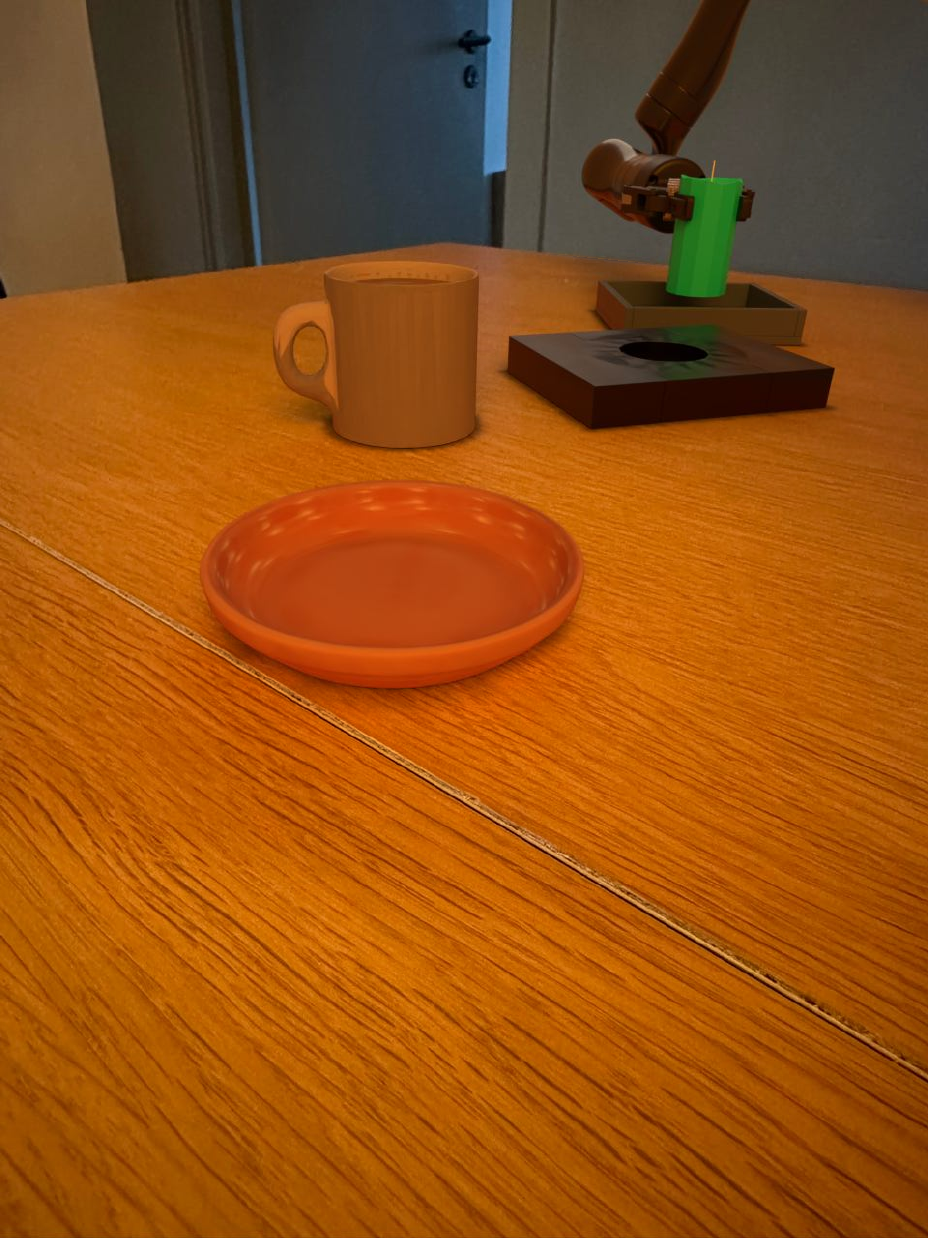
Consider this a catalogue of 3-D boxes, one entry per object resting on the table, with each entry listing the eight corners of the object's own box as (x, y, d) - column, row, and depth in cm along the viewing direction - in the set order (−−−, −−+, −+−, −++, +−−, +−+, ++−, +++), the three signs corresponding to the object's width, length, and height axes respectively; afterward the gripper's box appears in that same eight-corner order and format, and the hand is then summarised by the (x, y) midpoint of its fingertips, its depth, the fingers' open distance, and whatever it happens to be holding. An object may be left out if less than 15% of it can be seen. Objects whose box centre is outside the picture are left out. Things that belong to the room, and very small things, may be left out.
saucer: (616, 711, 32) (626, 641, 30) (172, 725, 31) (158, 653, 29) (546, 530, 46) (550, 476, 44) (237, 534, 44) (231, 479, 43)
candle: (660, 293, 88) (678, 160, 82) (670, 283, 93) (688, 157, 87) (720, 299, 86) (743, 163, 80) (728, 289, 91) (750, 160, 85)
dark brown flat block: (709, 357, 79) (715, 324, 78) (826, 407, 66) (835, 367, 65) (507, 371, 74) (508, 335, 72) (590, 429, 60) (595, 386, 59)
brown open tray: (749, 313, 98) (754, 282, 96) (800, 345, 85) (808, 309, 83) (595, 311, 97) (598, 280, 96) (622, 342, 84) (626, 307, 82)
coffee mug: (469, 403, 65) (472, 261, 60) (481, 447, 57) (485, 285, 52) (289, 403, 64) (277, 259, 59) (273, 448, 56) (258, 284, 51)
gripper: (603, 153, 95) (651, 163, 80) (728, 155, 96) (797, 166, 82) (596, 228, 99) (640, 251, 84) (717, 229, 100) (780, 251, 86)
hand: (717, 209), depth 83 cm, fingers closed on candle, 5 cm apart
